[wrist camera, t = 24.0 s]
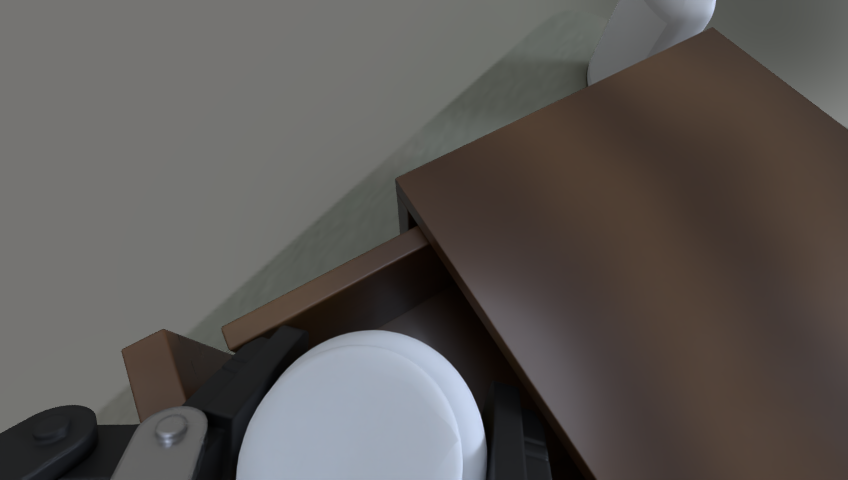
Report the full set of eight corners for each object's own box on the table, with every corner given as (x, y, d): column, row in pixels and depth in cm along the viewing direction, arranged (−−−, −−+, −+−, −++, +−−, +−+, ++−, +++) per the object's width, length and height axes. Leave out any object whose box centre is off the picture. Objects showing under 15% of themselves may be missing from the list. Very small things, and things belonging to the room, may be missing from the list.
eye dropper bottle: (571, 109, 26) (679, -111, 16) (591, 56, 29) (697, -169, 18) (636, 130, 26) (796, -84, 15) (651, 74, 28) (799, -147, 17)
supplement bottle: (358, 347, 18) (292, 262, 8) (475, 398, 17) (548, 365, 7) (294, 483, 15) (108, 571, 6) (426, 548, 14) (444, 768, 5)
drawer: (208, 779, 13) (-50, 1219, 6) (125, 440, 17) (-86, 451, 10) (627, 450, 17) (778, 468, 10) (479, 243, 21) (511, 152, 14)
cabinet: (550, 523, 17) (697, 632, 8) (403, 279, 21) (394, 178, 12) (775, 344, 20) (1052, 283, 11) (607, 167, 24) (712, 26, 16)
